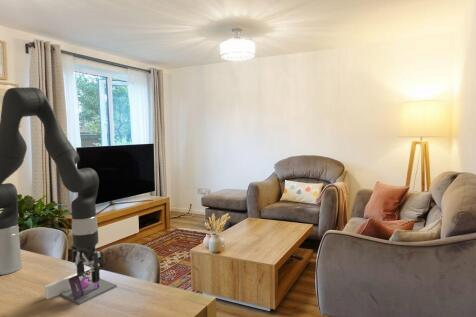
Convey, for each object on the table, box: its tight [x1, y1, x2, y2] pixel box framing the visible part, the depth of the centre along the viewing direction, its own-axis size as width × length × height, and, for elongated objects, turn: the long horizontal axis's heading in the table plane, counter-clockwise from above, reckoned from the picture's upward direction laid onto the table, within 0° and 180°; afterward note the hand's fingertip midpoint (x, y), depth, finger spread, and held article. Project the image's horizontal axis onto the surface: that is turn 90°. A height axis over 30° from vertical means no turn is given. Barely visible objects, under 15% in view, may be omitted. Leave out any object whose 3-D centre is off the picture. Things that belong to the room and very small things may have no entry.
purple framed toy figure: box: [68, 268, 99, 300], centre depth 105 cm, size 7×5×9 cm
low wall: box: [44, 267, 92, 300], centre depth 109 cm, size 2×16×4 cm, turn 146°
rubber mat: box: [59, 278, 118, 305], centre depth 107 cm, size 11×13×1 cm
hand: (88, 278), depth 107 cm, fingers open, 8 cm apart
